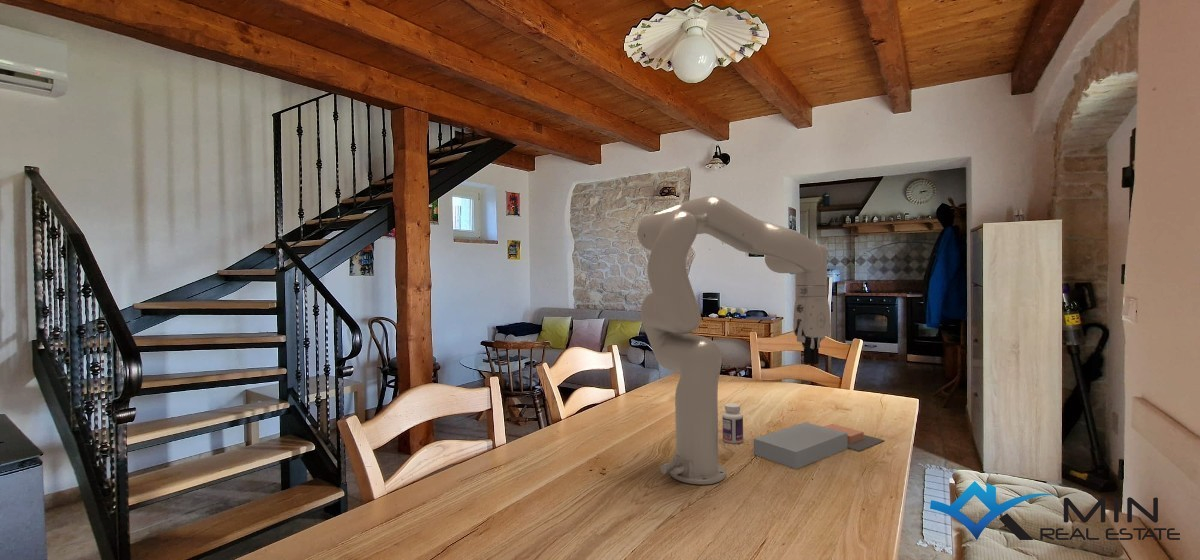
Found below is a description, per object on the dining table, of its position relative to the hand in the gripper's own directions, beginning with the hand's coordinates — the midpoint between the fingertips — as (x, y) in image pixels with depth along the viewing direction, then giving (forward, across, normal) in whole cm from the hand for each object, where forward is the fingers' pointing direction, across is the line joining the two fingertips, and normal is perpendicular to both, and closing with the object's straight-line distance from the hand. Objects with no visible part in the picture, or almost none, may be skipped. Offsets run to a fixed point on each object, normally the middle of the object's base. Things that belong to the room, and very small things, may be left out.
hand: (811, 363), depth 133 cm
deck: (+22, -5, 0) cm, 22 cm away
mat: (+22, +13, -2) cm, 25 cm away
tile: (+19, +13, -1) cm, 23 cm away
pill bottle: (+22, -12, +16) cm, 30 cm away
